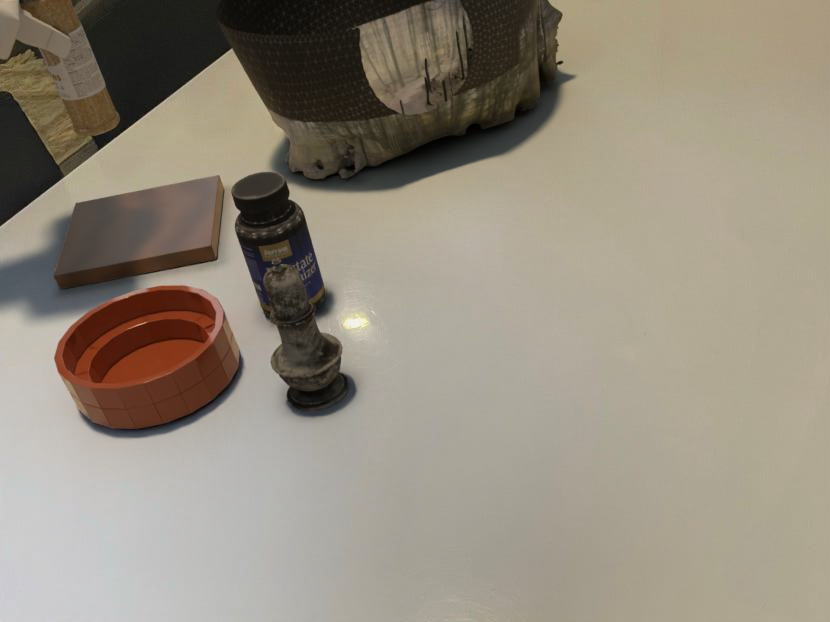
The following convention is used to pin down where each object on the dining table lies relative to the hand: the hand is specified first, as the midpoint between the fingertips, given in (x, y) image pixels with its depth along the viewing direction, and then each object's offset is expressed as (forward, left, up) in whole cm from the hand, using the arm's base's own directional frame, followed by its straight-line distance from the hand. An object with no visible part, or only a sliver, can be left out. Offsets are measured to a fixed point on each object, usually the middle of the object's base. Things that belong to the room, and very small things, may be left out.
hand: (68, 38), depth 86 cm
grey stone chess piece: (+17, -32, -19) cm, 41 cm away
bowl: (+3, -26, -19) cm, 32 cm away
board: (-1, 0, -19) cm, 19 cm away
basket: (+29, +14, -19) cm, 38 cm away
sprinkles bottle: (-1, 0, -8) cm, 8 cm away
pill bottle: (+15, -18, -19) cm, 30 cm away
